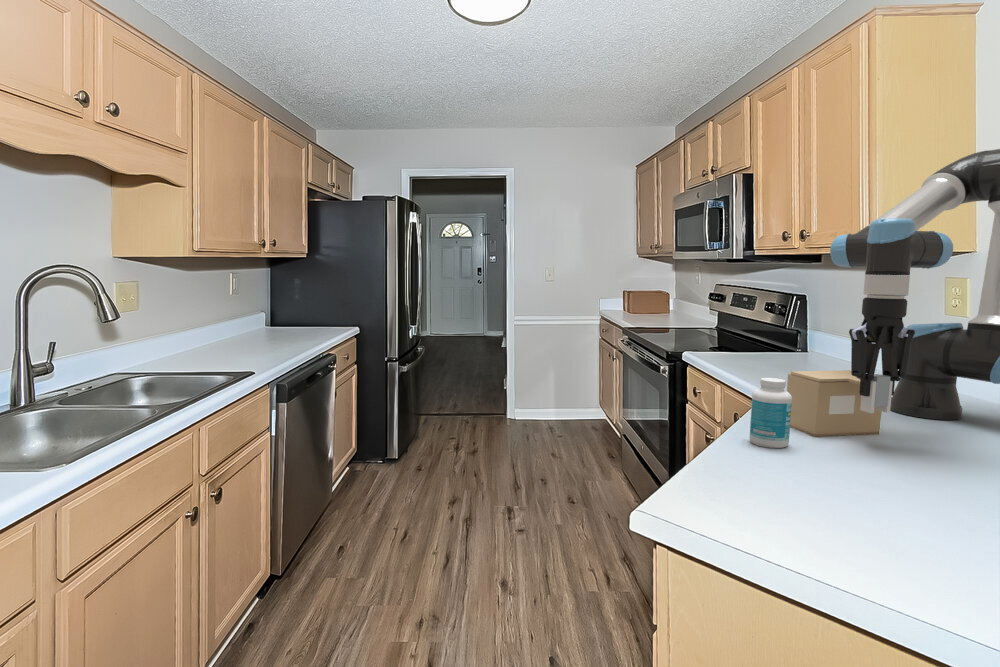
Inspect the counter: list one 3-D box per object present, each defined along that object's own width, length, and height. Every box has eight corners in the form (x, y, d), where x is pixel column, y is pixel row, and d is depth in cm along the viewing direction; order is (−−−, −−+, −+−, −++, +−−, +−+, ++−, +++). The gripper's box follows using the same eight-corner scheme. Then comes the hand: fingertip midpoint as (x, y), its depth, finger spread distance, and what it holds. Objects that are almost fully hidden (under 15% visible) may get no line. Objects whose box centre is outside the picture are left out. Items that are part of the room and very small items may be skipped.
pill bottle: (793, 450, 115) (798, 384, 114) (753, 447, 117) (758, 382, 115) (782, 439, 123) (787, 377, 121) (745, 437, 124) (749, 375, 122)
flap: (850, 387, 136) (852, 362, 135) (915, 405, 118) (917, 376, 118) (789, 389, 133) (791, 363, 132) (847, 407, 116) (849, 377, 115)
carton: (845, 422, 137) (849, 372, 136) (879, 434, 127) (884, 381, 126) (784, 424, 135) (788, 373, 133) (814, 437, 125) (819, 382, 123)
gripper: (903, 296, 121) (893, 405, 124) (835, 295, 118) (826, 408, 121) (936, 298, 114) (924, 414, 116) (864, 297, 111) (854, 417, 114)
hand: (874, 411), depth 119 cm, fingers closed on flap, 3 cm apart
